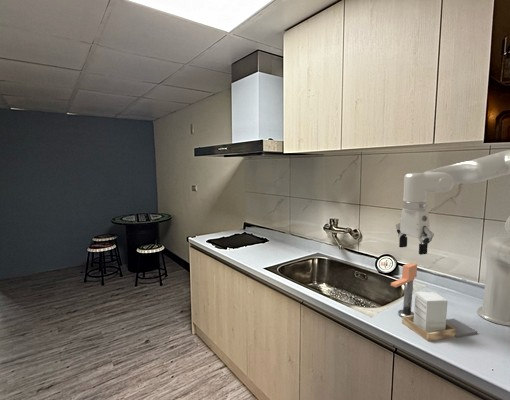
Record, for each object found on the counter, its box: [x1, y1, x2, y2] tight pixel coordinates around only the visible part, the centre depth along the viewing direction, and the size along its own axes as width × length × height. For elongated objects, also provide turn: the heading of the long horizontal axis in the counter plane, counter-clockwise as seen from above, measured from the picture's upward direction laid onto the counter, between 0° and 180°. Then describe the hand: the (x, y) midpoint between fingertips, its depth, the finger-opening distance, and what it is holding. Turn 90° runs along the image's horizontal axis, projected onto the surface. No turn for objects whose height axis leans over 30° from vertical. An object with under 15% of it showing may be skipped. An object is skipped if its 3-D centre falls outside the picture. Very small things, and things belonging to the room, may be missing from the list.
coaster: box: [446, 318, 478, 338], centre depth 104 cm, size 9×9×1 cm
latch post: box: [397, 280, 414, 318], centre depth 112 cm, size 6×6×14 cm
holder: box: [401, 315, 456, 342], centre depth 103 cm, size 12×12×2 cm
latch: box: [390, 262, 418, 288], centre depth 109 cm, size 2×14×6 cm, turn 124°
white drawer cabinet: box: [413, 291, 449, 333], centre depth 103 cm, size 7×7×13 cm
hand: (412, 250), depth 110 cm, fingers open, 9 cm apart
